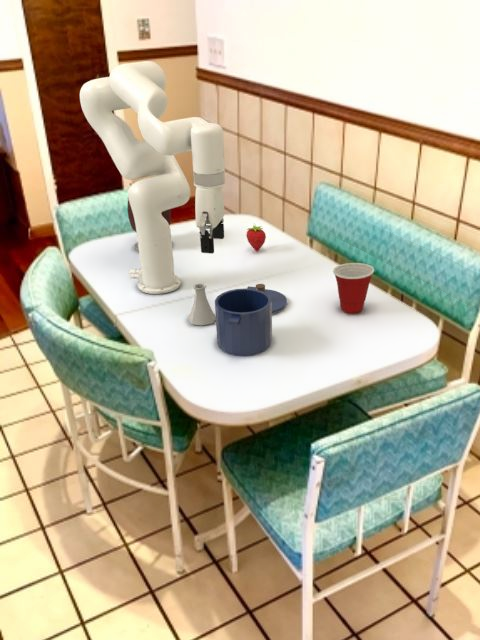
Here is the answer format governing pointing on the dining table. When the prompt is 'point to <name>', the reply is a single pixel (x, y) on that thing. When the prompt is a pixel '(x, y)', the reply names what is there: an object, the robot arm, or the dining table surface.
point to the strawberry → (256, 237)
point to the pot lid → (274, 298)
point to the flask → (201, 307)
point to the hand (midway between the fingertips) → (213, 245)
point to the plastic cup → (353, 285)
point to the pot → (244, 321)
